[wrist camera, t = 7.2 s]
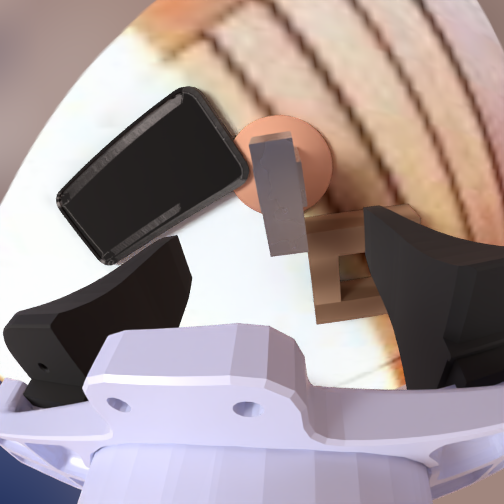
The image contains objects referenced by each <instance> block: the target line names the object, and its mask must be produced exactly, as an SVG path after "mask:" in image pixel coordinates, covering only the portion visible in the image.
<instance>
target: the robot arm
mask: <svg viewBox="0 0 504 504" xmlns="http://www.w3.org/2000/svg"><path fill="white" fill-rule="evenodd" d="M363 211H364V232H365V256H366V260H367V263H368V267H369V270H370V273H371V276H372V278H373V281H374V283H375V285H376V287H377V290H378V292H379V294H380V296H381V299H382V301H383V303H384V306H385V308H386V310H387V312H388V315H389V317H390V320H391V323H392V326H393V329H394V333H395V336H396V340H397V344H398V348H399V352H400V357H401V361H402V366H403V371H404V376H405V382H406V386H407V390H381V389H353V388H336V387H322V386H313V385H312V384H311V383H310V382H309V379H308V377H307V372H306V364H305V357H304V355H303V353H302V352H301V350H300V348H299V346H298V345H297V343H296V341H295V340H294V339H293V338H291V337H289V336H288V335H286V334H284V333H282V332H280V331H278V330H276V329H274V328H272V327H270V326H263V325H252V324H242V323H234V324H222V325H210V326H196V327H181V328H179V325H180V322H181V319H182V316H183V313H184V311H185V308H186V305H187V302H188V299H189V294H190V289H191V282H192V276H191V273H190V270H189V267H188V265H187V262H186V259H185V256H184V253H183V250H182V247H181V244H180V241H179V238H178V235H176V236H170V237H164V238H162V239H159V240H158V241H156V242H154V243H153V244H151V245H150V246H148V247H147V248H145V249H144V250H142V251H141V252H139V253H138V254H137V255H135V256H134V257H132V258H131V259H130V260H128V261H127V262H125V263H124V264H122V265H121V266H119V267H118V268H116V269H115V270H113V271H112V272H110V273H109V274H107V275H106V276H104V277H102V278H101V279H99V280H97V281H95V282H93V283H92V284H90V285H88V286H86V287H84V288H82V289H80V290H78V291H76V292H73V293H71V294H69V295H67V296H65V297H62V298H60V299H57V300H55V301H52V302H49V303H46V304H43V305H40V306H37V307H33V308H30V309H26V310H23V311H19V312H17V313H16V314H15V315H14V316H13V317H12V319H11V320H10V321H9V323H8V324H7V325H6V326H5V328H4V331H3V336H4V340H5V343H6V345H7V348H8V349H9V351H10V352H11V354H12V355H13V357H14V358H15V359H16V361H17V362H18V363H19V364H20V366H21V367H22V368H23V369H24V371H25V372H26V373H27V374H28V376H29V377H30V378H31V381H30V383H29V384H28V385H27V384H25V383H24V382H22V381H19V380H14V379H10V378H5V379H4V381H3V382H2V384H1V386H0V446H1V447H3V448H4V449H5V450H6V451H7V452H9V453H10V454H11V455H12V456H14V457H15V458H16V459H17V460H19V461H20V462H22V463H24V464H26V465H28V466H30V467H32V468H34V469H36V470H38V471H40V472H42V473H45V474H47V475H49V476H51V477H53V478H56V479H58V480H60V481H62V482H65V483H67V484H69V485H71V486H74V487H76V488H78V489H81V490H82V492H81V495H80V498H79V501H78V504H433V501H432V500H435V499H438V498H440V497H443V496H446V495H448V494H450V493H453V492H455V491H458V490H460V489H462V488H465V487H467V486H470V485H471V484H474V483H476V482H478V481H480V480H482V479H485V478H486V477H488V476H490V475H493V474H495V473H497V472H498V471H500V470H502V469H504V246H496V245H489V244H483V243H477V242H473V241H468V240H464V239H460V238H456V237H453V236H450V235H447V234H444V233H441V232H438V231H435V230H432V229H430V228H428V227H425V226H423V225H421V224H418V223H416V222H414V221H412V220H410V219H408V218H406V217H403V216H401V215H399V214H397V213H395V212H393V211H391V210H389V209H387V208H385V207H382V206H371V207H364V208H363Z"/></svg>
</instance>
